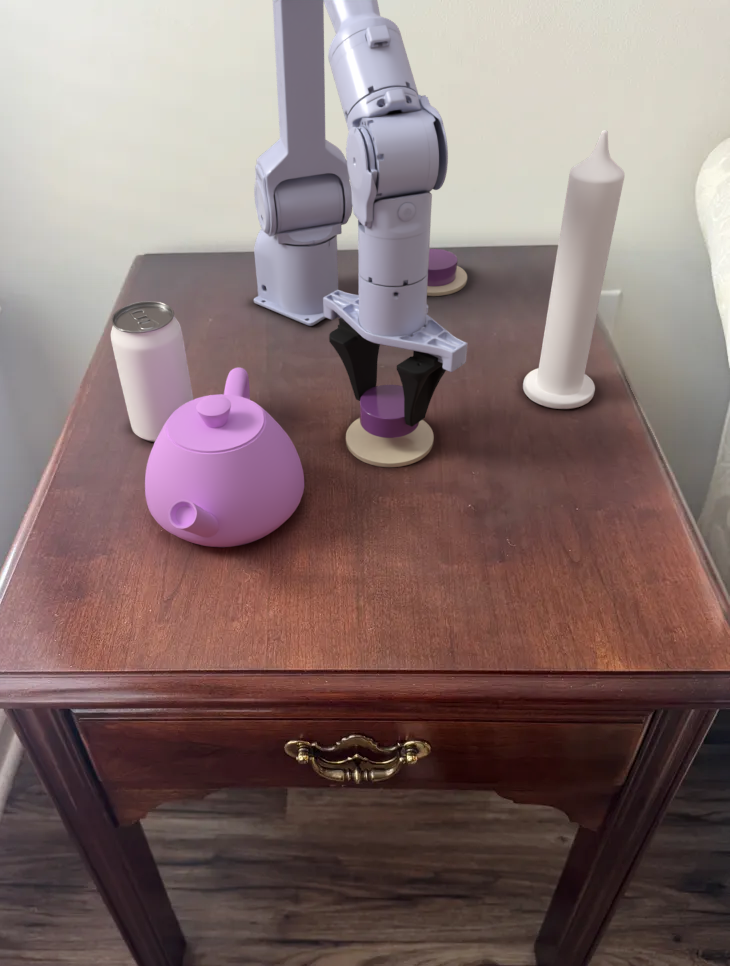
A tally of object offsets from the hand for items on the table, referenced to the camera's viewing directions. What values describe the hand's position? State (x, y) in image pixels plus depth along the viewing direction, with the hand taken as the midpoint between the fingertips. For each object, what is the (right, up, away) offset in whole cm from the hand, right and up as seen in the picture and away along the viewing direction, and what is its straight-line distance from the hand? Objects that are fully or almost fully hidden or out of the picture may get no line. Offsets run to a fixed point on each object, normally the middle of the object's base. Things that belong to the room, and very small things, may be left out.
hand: (390, 408), depth 79 cm
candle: (+18, +3, +8) cm, 19 cm away
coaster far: (+7, +20, +26) cm, 33 cm away
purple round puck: (+7, +20, +25) cm, 33 cm away
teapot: (-15, -10, -4) cm, 18 cm away
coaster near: (0, -3, +3) cm, 4 cm away
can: (-22, -1, +6) cm, 23 cm away
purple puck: (0, -1, +1) cm, 1 cm away
